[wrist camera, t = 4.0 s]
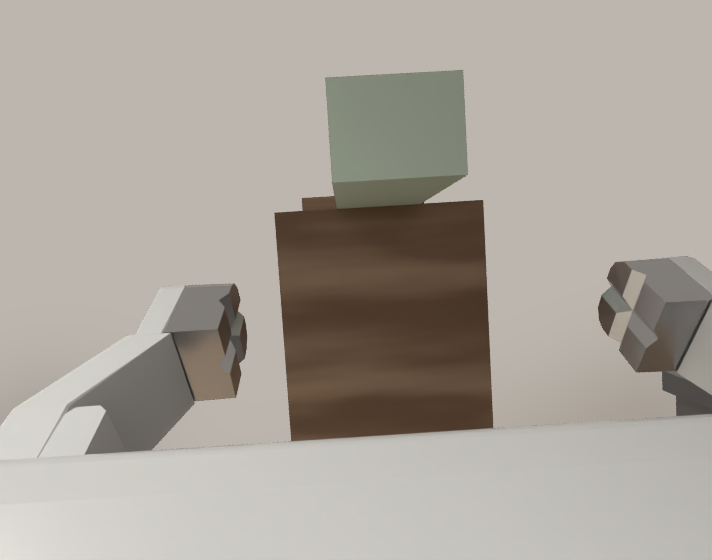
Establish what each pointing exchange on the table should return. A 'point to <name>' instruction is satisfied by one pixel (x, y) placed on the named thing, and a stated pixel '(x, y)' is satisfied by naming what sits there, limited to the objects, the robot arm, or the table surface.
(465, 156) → the batten
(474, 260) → the stand
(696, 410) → the storage box
